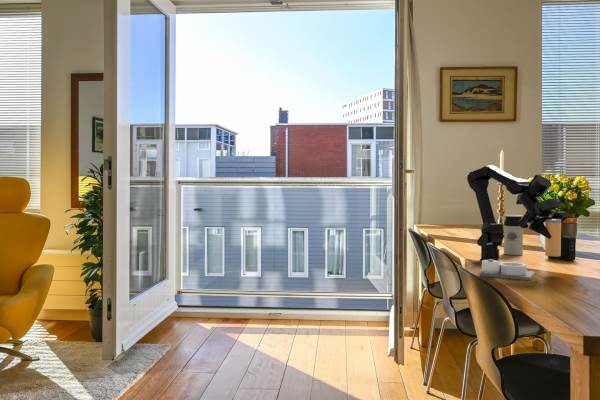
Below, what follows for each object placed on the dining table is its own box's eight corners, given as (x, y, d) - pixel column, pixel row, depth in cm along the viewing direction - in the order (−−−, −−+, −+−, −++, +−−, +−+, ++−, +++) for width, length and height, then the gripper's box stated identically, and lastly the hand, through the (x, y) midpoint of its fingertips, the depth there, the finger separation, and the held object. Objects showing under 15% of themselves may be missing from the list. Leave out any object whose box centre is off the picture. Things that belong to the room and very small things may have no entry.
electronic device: (569, 261, 208) (569, 237, 208) (547, 258, 217) (547, 235, 217) (575, 260, 210) (575, 237, 210) (553, 257, 219) (554, 234, 218)
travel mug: (508, 252, 235) (508, 214, 234) (525, 254, 229) (525, 214, 228) (500, 254, 229) (501, 215, 228) (518, 256, 224) (518, 215, 223)
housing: (479, 275, 180) (479, 260, 179) (486, 270, 190) (487, 255, 190) (529, 280, 171) (530, 264, 171) (534, 274, 182) (534, 258, 181)
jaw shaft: (544, 255, 181) (544, 219, 180) (545, 254, 185) (546, 218, 185) (560, 256, 178) (560, 220, 178) (561, 255, 183) (561, 219, 182)
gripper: (524, 191, 181) (548, 224, 172) (564, 190, 188) (589, 222, 178) (508, 211, 189) (530, 244, 179) (547, 210, 195) (570, 241, 185)
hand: (556, 237), depth 180 cm, fingers closed on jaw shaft, 5 cm apart
